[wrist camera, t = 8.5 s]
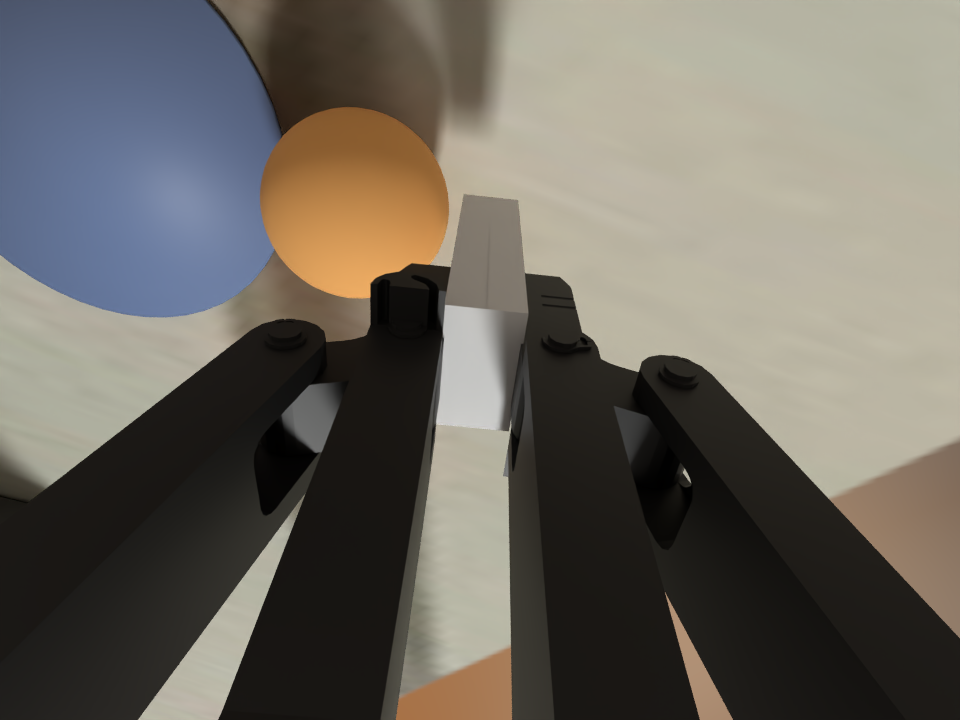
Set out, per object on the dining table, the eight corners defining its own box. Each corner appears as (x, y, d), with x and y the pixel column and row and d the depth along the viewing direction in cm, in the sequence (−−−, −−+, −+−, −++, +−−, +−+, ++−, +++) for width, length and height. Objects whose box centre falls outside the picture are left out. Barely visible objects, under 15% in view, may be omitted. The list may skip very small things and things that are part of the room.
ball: (445, 319, 19) (289, 302, 20) (463, 164, 20) (309, 149, 20) (426, 288, 14) (209, 265, 14) (451, 75, 14) (239, 55, 14)
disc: (136, 365, 24) (134, 368, 24) (-190, 89, 19) (-196, 90, 18) (365, 200, 20) (364, 202, 20) (27, -230, 14) (22, -233, 14)
